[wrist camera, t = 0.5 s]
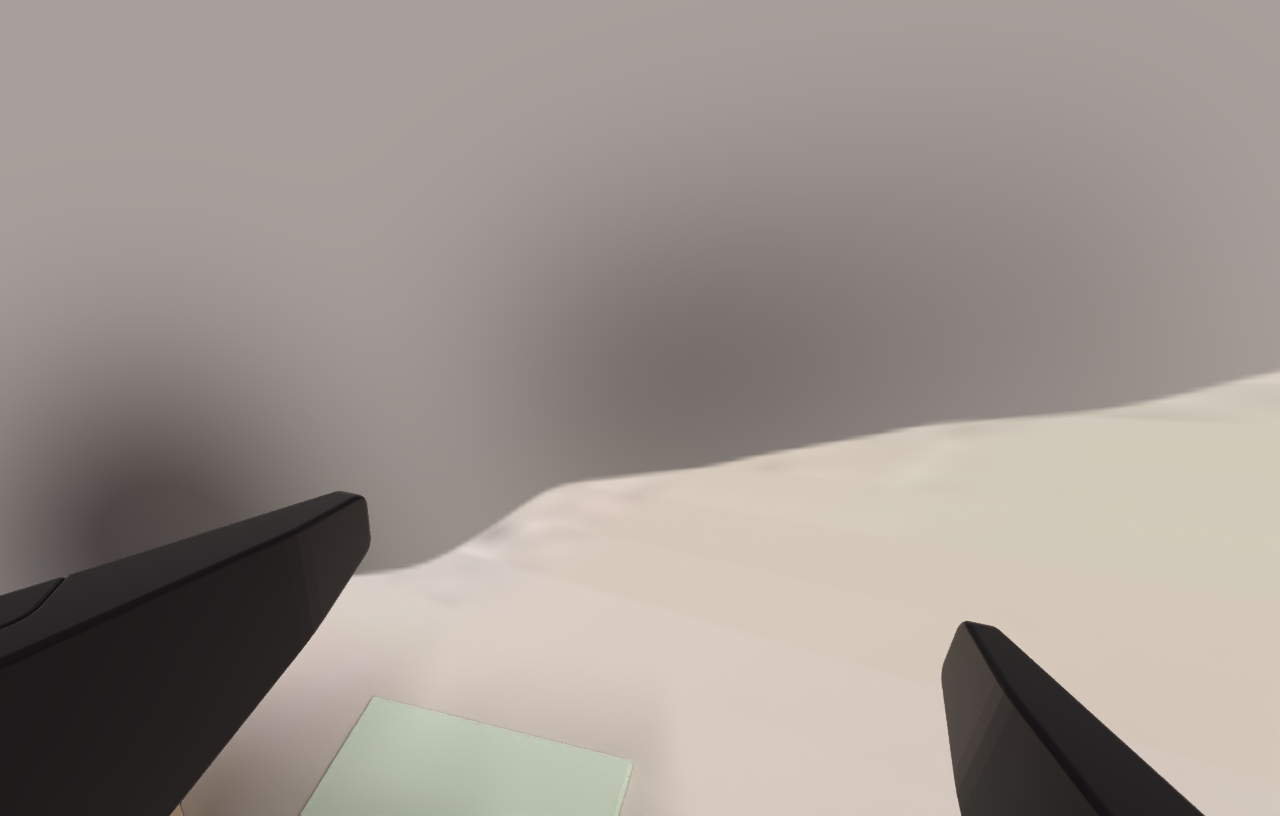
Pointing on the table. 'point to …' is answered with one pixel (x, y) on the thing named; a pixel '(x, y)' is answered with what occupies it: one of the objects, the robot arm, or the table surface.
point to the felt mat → (462, 770)
